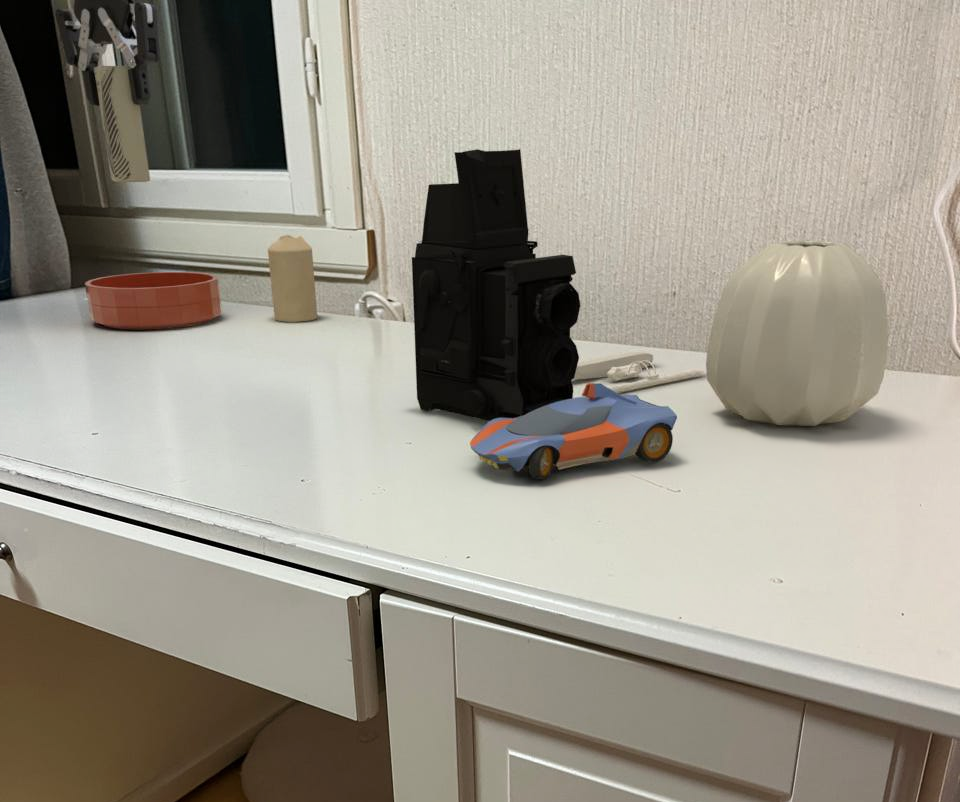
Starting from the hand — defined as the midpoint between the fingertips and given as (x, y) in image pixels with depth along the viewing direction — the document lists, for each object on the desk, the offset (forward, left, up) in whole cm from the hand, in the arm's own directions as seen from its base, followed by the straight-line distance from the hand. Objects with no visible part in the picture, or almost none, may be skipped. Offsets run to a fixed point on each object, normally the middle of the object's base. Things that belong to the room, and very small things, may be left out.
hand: (119, 104), depth 123 cm
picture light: (+73, -15, -25) cm, 79 cm away
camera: (+66, -31, -25) cm, 77 cm away
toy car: (+76, -41, -25) cm, 90 cm away
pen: (+69, -13, -25) cm, 75 cm away
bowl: (+5, -5, -25) cm, 26 cm away
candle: (+21, +3, -25) cm, 33 cm away
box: (0, 0, -9) cm, 9 cm away
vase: (+88, -22, -25) cm, 94 cm away
